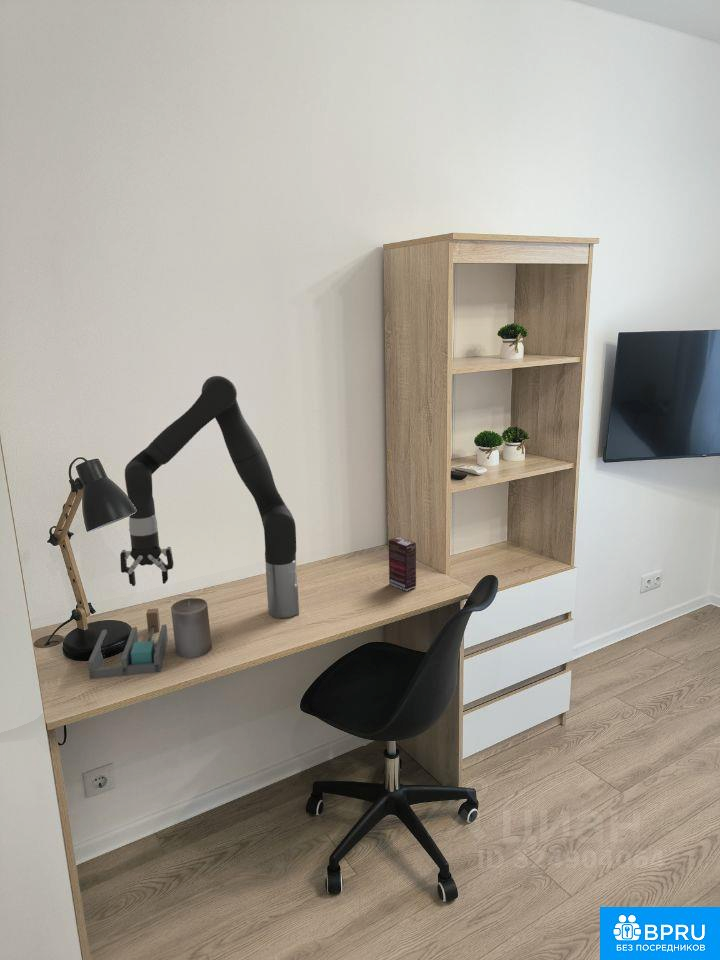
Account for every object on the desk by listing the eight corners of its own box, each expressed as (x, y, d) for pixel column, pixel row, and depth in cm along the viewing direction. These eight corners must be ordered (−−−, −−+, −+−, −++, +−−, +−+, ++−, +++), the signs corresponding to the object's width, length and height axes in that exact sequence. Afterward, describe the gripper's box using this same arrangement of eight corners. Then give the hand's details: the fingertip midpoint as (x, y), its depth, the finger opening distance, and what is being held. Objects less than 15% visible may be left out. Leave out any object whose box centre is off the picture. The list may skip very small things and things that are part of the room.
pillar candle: (200, 638, 198) (195, 590, 194) (218, 650, 191) (213, 600, 187) (169, 650, 192) (163, 601, 188) (186, 663, 185) (180, 612, 181)
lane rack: (168, 640, 197) (166, 624, 196) (160, 673, 180) (158, 655, 179) (104, 646, 195) (102, 629, 194) (90, 679, 178) (87, 662, 177)
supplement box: (416, 588, 229) (416, 542, 225) (406, 592, 226) (406, 546, 222) (398, 580, 236) (398, 536, 231) (388, 584, 233) (387, 539, 228)
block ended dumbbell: (163, 626, 205) (161, 607, 204) (152, 668, 182) (150, 648, 180) (146, 628, 205) (144, 609, 203) (132, 670, 181) (130, 650, 180)
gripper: (171, 524, 200) (175, 577, 204) (119, 527, 198) (125, 580, 202) (168, 533, 193) (173, 587, 197) (115, 536, 191) (121, 591, 195)
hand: (149, 583), depth 200 cm, fingers open, 8 cm apart
